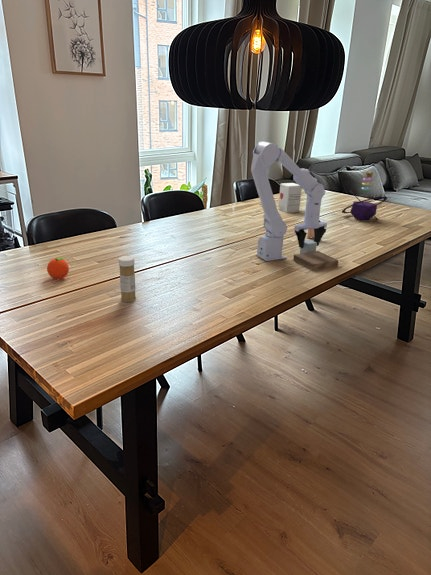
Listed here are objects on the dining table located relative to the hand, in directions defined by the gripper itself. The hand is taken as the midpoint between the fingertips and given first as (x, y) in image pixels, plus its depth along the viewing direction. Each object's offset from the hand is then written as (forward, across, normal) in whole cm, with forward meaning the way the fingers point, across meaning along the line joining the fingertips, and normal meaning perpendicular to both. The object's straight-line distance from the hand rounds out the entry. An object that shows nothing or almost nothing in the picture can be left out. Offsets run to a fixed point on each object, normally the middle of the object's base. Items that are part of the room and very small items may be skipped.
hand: (308, 246), depth 180 cm
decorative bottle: (+4, +65, +38) cm, 75 cm away
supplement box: (+4, +39, +69) cm, 79 cm away
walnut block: (+4, -4, -10) cm, 12 cm away
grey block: (+4, 0, 0) cm, 4 cm away
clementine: (+3, -95, +11) cm, 96 cm away
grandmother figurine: (+4, +17, +19) cm, 26 cm away
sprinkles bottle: (+3, -79, -15) cm, 81 cm away
